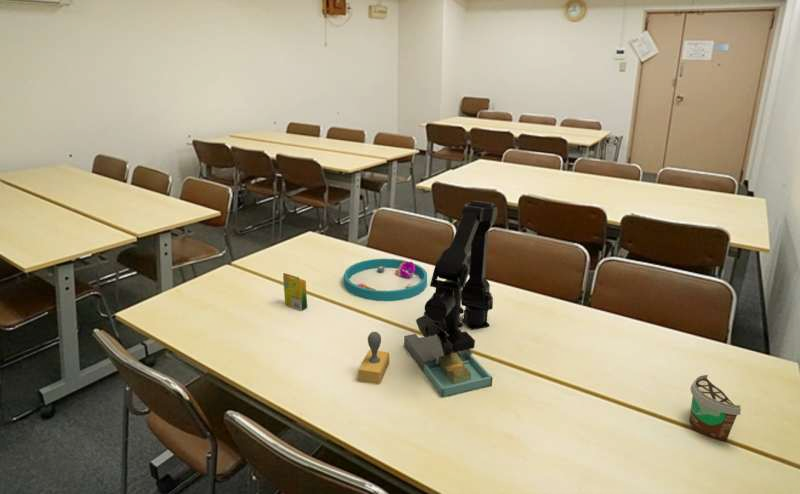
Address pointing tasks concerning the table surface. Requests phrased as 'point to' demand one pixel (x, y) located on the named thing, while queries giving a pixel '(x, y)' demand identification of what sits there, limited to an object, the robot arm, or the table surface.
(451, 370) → the brass chip
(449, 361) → the brass chip
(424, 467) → the table surface
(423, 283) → the teal ring
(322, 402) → the table surface
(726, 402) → the food container
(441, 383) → the tray
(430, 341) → the slotted plate
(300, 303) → the crayon box
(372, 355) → the rubber stamp
